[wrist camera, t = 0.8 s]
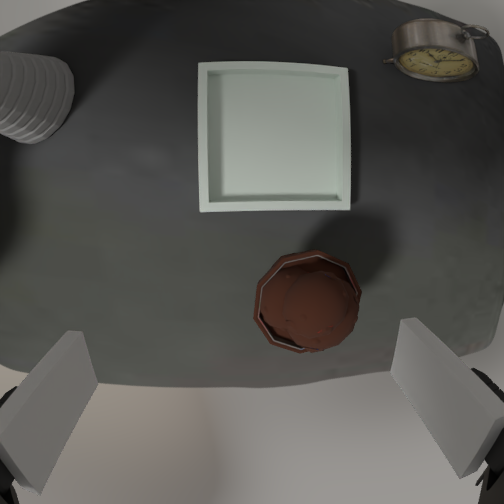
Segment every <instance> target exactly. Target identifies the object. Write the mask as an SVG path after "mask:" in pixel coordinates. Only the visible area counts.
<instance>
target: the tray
mask: <svg viewBox="0 0 504 504" xmlns="http://www.w3.org/2000/svg"><path fill="white" fill-rule="evenodd" d="M198 166H199V201H200V212H219V211H260V210H350V192H351V129H350V100H349V81H348V68H342V67H334V66H325V65H315V64H303V63H288V62H261V61H230V62H203V63H198Z"/></svg>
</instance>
